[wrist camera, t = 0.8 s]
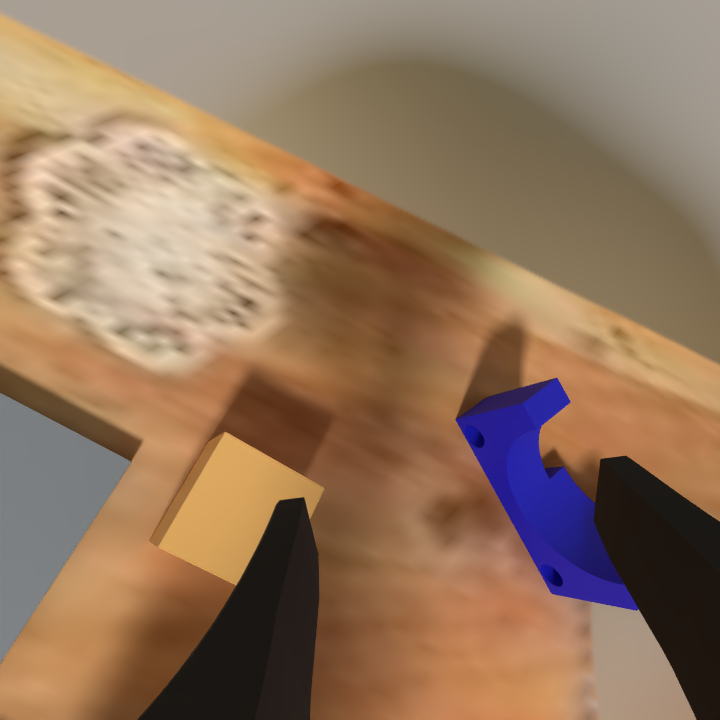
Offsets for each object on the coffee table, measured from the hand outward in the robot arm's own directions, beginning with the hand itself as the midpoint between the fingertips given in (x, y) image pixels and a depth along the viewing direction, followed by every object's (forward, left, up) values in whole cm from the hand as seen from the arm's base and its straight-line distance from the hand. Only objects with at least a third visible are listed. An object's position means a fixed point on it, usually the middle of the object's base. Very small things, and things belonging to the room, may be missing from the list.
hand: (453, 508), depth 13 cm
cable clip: (+8, -14, -16) cm, 22 cm away
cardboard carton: (-1, +2, -15) cm, 15 cm away
